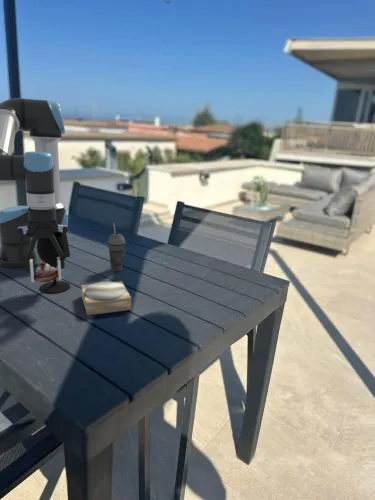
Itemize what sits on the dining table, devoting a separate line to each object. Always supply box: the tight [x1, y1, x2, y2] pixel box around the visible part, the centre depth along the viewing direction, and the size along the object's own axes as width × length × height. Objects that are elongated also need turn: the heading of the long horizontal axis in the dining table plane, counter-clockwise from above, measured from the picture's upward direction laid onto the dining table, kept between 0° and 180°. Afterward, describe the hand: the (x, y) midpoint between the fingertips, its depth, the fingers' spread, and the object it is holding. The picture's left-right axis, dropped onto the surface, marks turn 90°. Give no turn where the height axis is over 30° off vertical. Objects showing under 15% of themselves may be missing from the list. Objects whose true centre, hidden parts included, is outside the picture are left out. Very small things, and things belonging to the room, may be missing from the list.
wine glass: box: [36, 231, 71, 294], centre depth 124 cm, size 10×10×20 cm
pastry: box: [34, 261, 59, 283], centre depth 110 cm, size 8×8×5 cm
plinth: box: [80, 281, 132, 316], centre depth 117 cm, size 14×14×5 cm
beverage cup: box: [107, 222, 126, 272], centre depth 145 cm, size 7×7×20 cm
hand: (46, 279), depth 109 cm, fingers closed on pastry, 7 cm apart
